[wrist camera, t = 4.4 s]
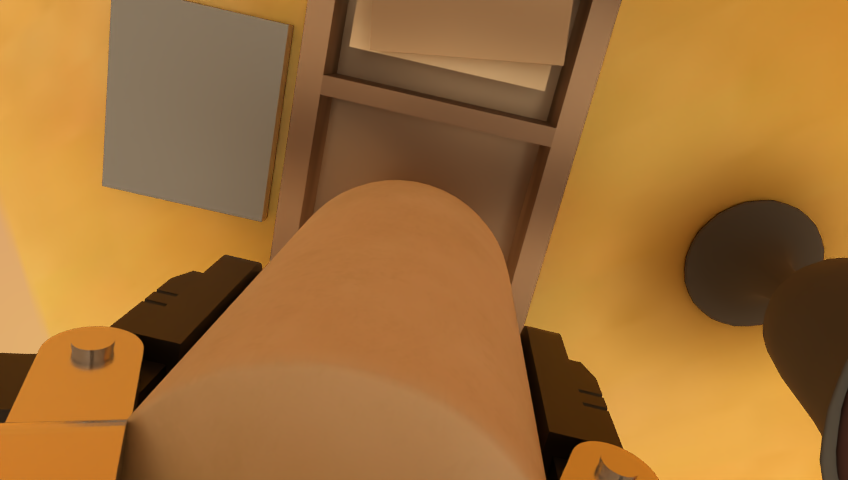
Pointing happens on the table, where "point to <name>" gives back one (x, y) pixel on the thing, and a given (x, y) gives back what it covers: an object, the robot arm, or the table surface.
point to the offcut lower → (491, 69)
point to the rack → (440, 132)
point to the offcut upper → (474, 29)
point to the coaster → (194, 104)
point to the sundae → (782, 306)
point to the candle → (355, 358)
